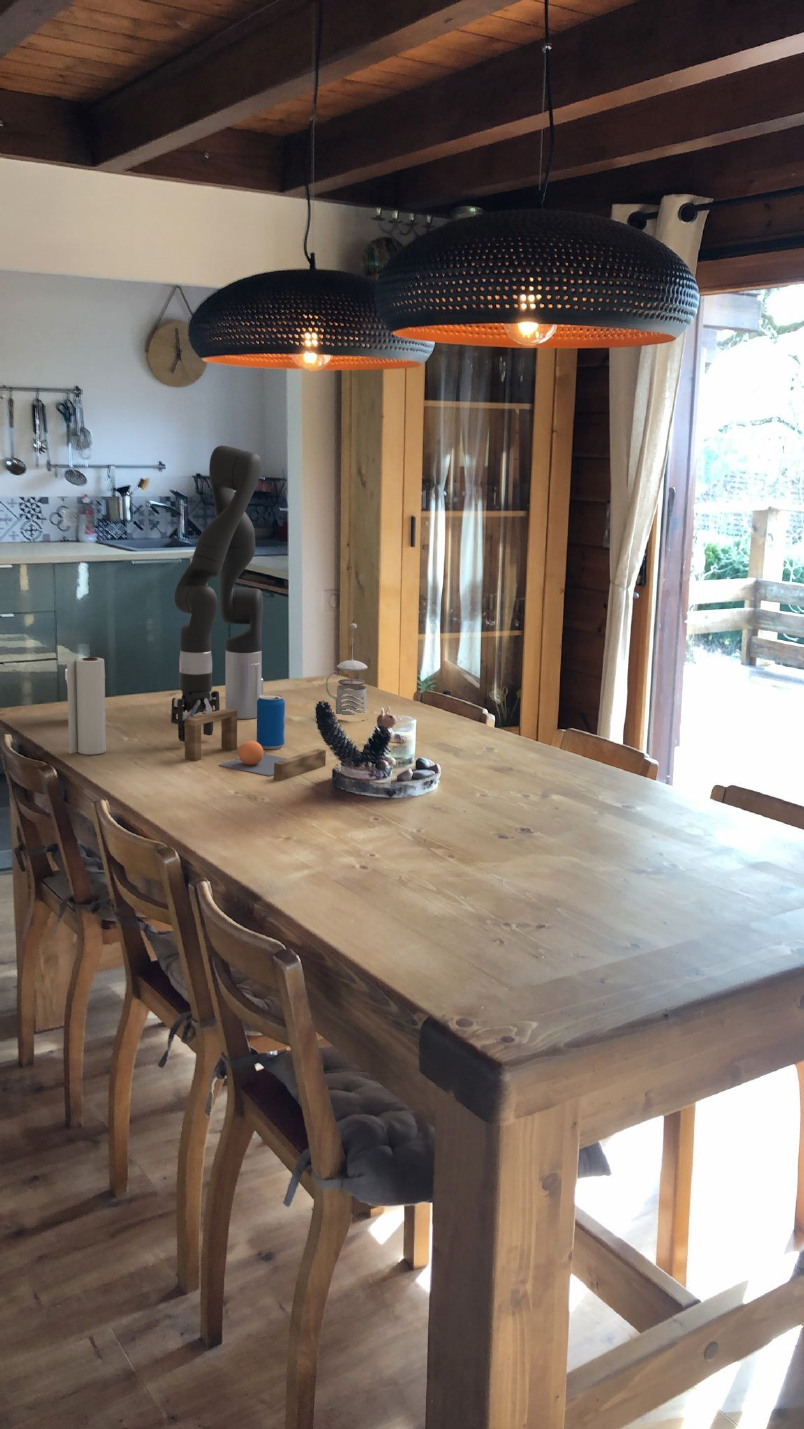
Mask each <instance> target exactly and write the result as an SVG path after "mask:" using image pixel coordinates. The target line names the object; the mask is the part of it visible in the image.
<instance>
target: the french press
mask: <svg viewBox="0 0 804 1429" xmlns="http://www.w3.org/2000/svg"><path fill="white" fill-rule="evenodd" d="M357 628H358V627H357V624H356V623H350V624H349V629H352V633H354V632H355V631H354V629H357ZM351 645H352V646H351V647H352V648H351V649H352V650H351V653H352V654H351V659H350V660H344V661H342V662H340V663H339V664H337V665H336V668H337V669H339V670H342V671H351V672H354V671H366V670H367V669H368V668H369V667H368V666H367V664H365V663H363V662H361V661H359V660H355V659H354V639H352V643H351ZM333 674H336V677H337V678H338V676H339V671H338V670H334V671H332V672H330V673H329V674H328V676H327V677H326V681H325V689H326V690H325V691H326V693H327V695H328V696H329V697H330V698H332V699H334V700H335V714H342V715H355V714H354V713H352V712H350V711H342V710H346V709H350V710H353V711H355V712H357V713H362V712H363V713H365V712H366V713H367V687H366V686H364V685H365V684H366V681H365V680H362V679H358V678H356V679H355V678H353V676H350V677H351V678H342V679H339V680H338V681H337V682H338V684H339V685H338V686H337V688H336V696H335V695H333V694H332V693H331V692H330V691H329V687H328V681H329V678H330V677H331V676H332V675H333ZM344 695H345V696H344ZM360 699H361V700H360ZM360 704H361V705H360ZM356 709H359V710H356Z"/></svg>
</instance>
